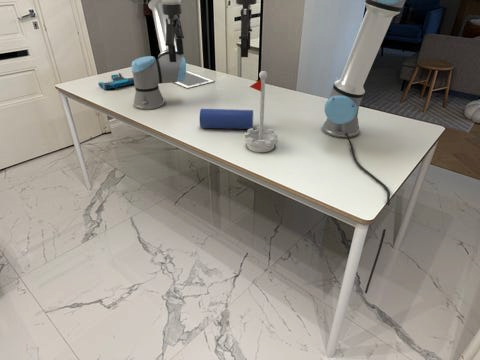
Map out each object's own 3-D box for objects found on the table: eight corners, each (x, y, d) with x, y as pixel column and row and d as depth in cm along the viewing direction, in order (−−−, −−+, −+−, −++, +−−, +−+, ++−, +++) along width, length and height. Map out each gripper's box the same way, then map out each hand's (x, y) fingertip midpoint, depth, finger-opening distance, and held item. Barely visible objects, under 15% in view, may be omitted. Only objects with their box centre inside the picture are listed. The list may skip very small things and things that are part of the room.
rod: (253, 124, 156) (253, 107, 151) (252, 132, 148) (252, 114, 144) (203, 123, 157) (202, 105, 153) (200, 130, 150) (198, 112, 145)
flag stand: (268, 136, 145) (271, 64, 128) (282, 150, 134) (288, 73, 118) (239, 141, 141) (239, 68, 124) (252, 155, 130) (253, 77, 114)
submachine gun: (142, 67, 226) (160, 73, 209) (143, 73, 228) (161, 80, 211) (90, 77, 207) (106, 85, 191) (92, 83, 209) (108, 91, 193)
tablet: (159, 76, 219) (159, 75, 219) (186, 70, 230) (186, 70, 230) (187, 88, 199) (187, 87, 198) (214, 81, 210) (214, 80, 210)
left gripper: (170, 0, 147) (175, 51, 159) (153, 6, 126) (160, 65, 138) (187, 0, 146) (191, 51, 158) (173, 7, 126) (178, 65, 137)
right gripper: (238, -11, 133) (238, 45, 145) (232, -6, 113) (233, 60, 124) (258, -11, 133) (256, 46, 145) (255, -5, 112) (253, 61, 124)
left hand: (177, 57), depth 148 cm, fingers open, 13 cm apart
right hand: (245, 53), depth 134 cm, fingers open, 13 cm apart
